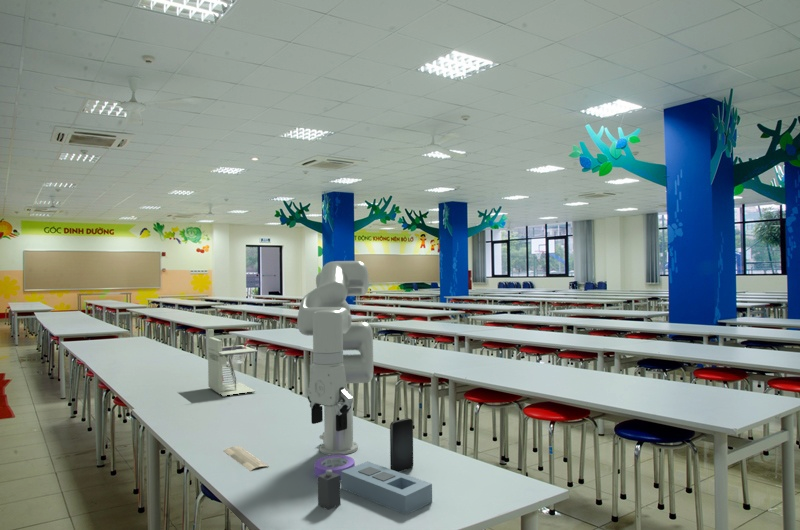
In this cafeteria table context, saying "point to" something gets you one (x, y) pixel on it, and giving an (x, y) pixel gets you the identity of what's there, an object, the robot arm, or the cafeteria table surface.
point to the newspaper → (244, 458)
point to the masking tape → (333, 464)
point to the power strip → (387, 487)
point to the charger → (329, 490)
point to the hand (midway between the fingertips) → (329, 426)
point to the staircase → (218, 361)
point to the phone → (401, 445)
